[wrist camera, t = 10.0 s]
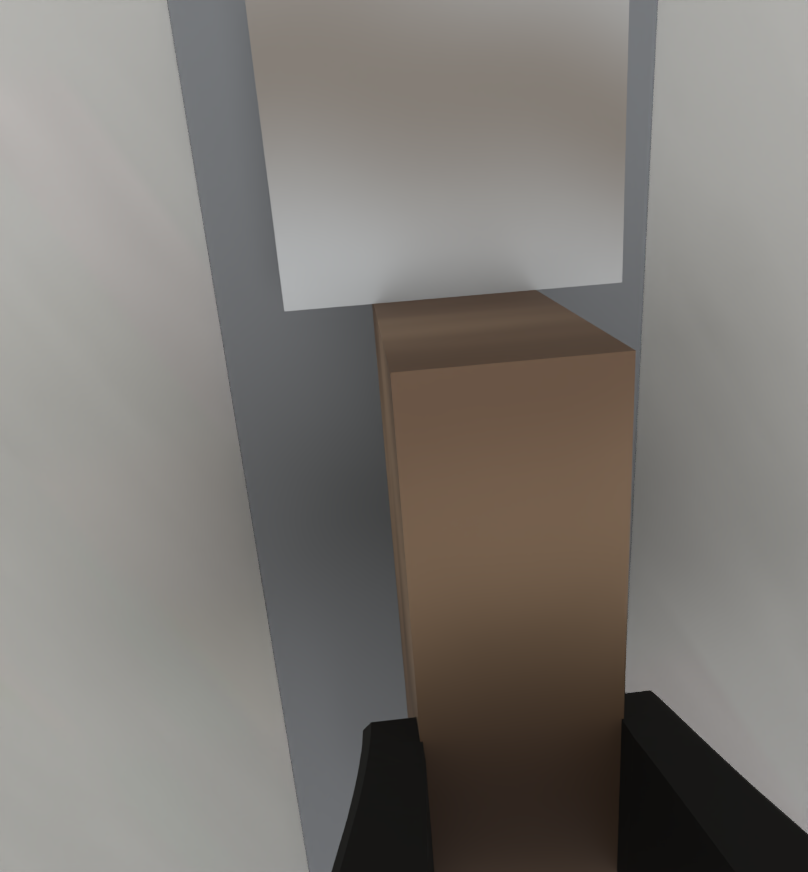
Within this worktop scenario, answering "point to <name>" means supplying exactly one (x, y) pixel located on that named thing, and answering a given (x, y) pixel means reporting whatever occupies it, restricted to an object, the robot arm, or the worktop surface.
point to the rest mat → (335, 414)
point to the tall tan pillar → (479, 377)
